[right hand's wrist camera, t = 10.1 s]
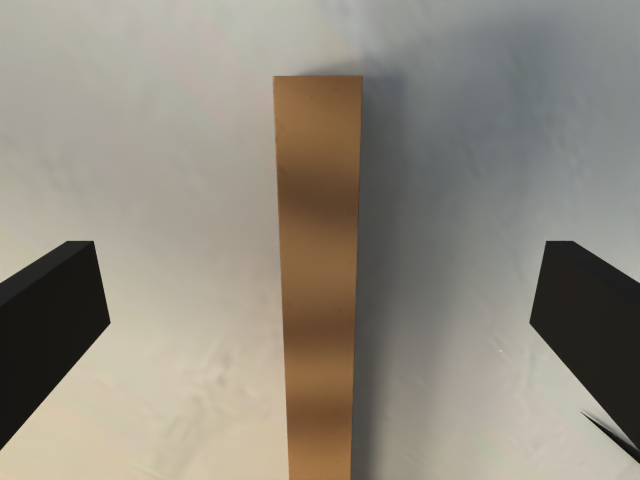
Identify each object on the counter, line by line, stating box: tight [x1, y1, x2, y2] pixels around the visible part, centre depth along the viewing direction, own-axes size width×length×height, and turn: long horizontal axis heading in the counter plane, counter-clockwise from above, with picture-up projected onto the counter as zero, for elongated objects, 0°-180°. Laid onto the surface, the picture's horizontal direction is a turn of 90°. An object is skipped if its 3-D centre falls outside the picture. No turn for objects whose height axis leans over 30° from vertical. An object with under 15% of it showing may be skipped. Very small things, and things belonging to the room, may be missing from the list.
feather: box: [500, 350, 640, 464], centre depth 39 cm, size 2×28×2 cm
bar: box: [273, 76, 363, 480], centre depth 36 cm, size 64×5×8 cm, turn 0°
